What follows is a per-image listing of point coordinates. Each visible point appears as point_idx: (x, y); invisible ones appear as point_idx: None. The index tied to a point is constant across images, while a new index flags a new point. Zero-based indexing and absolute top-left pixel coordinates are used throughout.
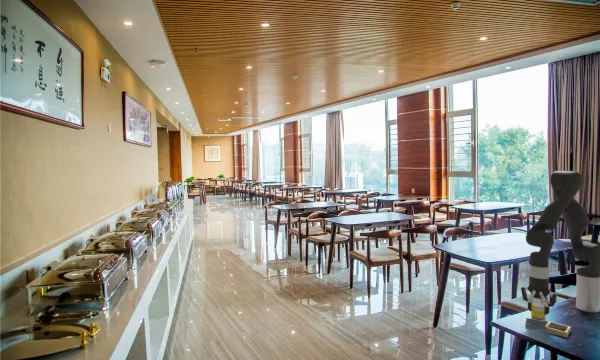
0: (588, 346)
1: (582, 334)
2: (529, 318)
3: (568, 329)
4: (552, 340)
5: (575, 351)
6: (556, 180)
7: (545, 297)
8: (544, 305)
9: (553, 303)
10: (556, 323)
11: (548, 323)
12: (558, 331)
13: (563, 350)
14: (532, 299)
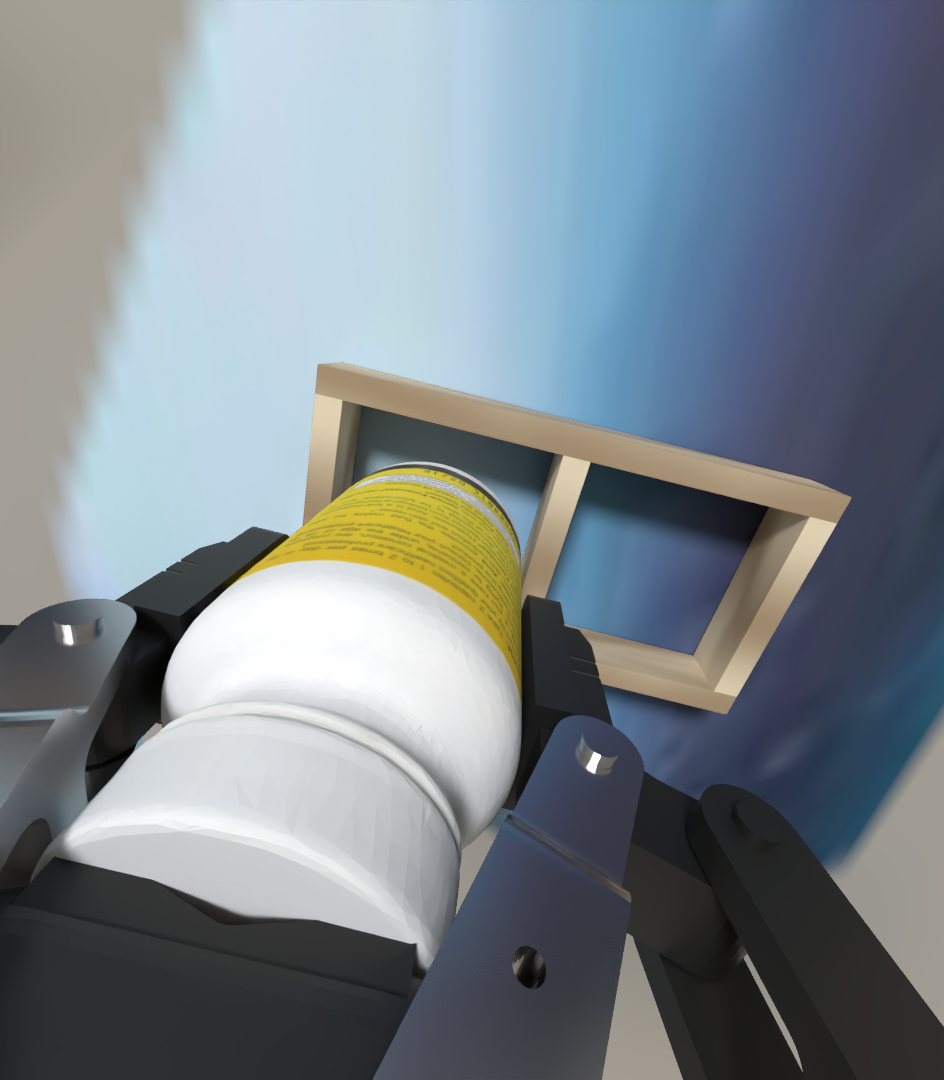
0: (853, 776)
1: (929, 518)
2: (319, 465)
3: (779, 612)
4: None
5: None
6: None
7: (524, 949)
8: (488, 825)
9: (752, 1058)
10: (668, 471)
11: (557, 528)
12: (641, 687)
13: None
14: (109, 708)
